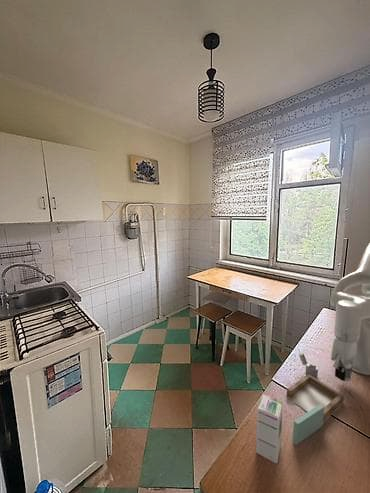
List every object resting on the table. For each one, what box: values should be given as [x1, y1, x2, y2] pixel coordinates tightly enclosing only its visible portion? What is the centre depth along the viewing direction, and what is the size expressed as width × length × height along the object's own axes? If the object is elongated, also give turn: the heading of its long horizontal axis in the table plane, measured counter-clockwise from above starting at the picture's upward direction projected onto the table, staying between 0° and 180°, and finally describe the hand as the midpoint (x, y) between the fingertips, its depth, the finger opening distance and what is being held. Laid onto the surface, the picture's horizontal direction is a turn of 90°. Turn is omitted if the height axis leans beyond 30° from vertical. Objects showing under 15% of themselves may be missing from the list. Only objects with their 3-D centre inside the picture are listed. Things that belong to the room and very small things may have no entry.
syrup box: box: [255, 394, 284, 464], centre depth 61 cm, size 6×6×14 cm
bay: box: [286, 374, 345, 423], centre depth 78 cm, size 14×12×3 cm
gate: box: [292, 404, 324, 446], centre depth 65 cm, size 12×1×7 cm, turn 117°
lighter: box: [298, 352, 319, 380], centre depth 90 cm, size 7×2×8 cm, turn 46°
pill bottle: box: [339, 362, 352, 382], centre depth 84 cm, size 5×5×8 cm
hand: (343, 374), depth 85 cm, fingers closed on pill bottle, 4 cm apart
